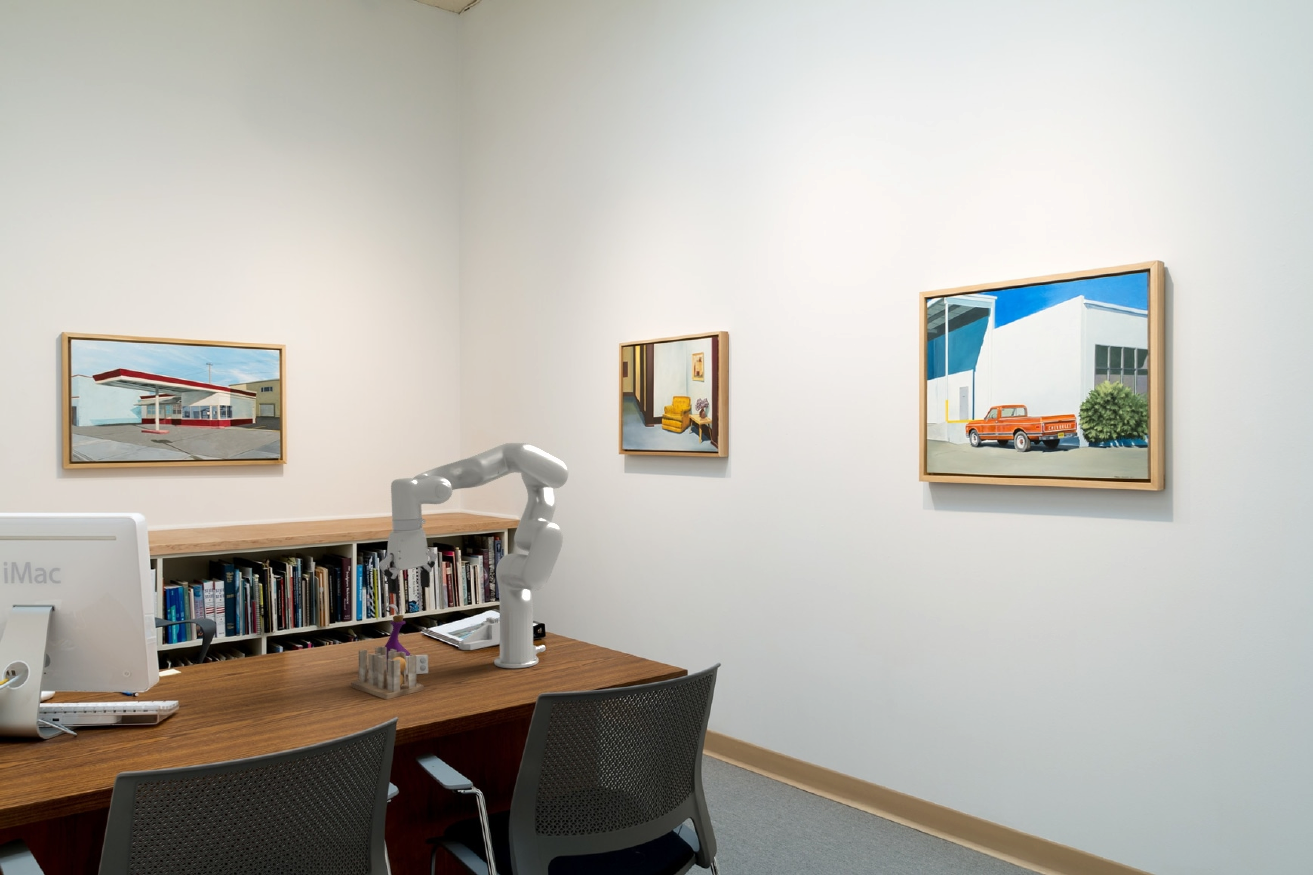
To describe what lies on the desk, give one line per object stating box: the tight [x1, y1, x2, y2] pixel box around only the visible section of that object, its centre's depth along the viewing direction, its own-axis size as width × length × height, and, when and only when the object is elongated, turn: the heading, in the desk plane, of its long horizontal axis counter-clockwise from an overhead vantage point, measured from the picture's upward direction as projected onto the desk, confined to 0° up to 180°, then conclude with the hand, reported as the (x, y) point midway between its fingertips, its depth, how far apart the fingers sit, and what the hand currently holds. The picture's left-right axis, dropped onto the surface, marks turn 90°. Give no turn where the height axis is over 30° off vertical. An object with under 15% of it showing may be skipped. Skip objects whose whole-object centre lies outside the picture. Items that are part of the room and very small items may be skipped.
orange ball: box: [393, 657, 406, 672], centre depth 234 cm, size 4×4×4 cm
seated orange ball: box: [387, 674, 403, 686], centre depth 232 cm, size 4×4×4 cm
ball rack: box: [350, 645, 425, 700], centre depth 236 cm, size 11×17×9 cm, turn 49°
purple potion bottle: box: [384, 603, 411, 671], centre depth 257 cm, size 8×8×18 cm
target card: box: [406, 654, 429, 676], centre depth 250 cm, size 1×8×5 cm, turn 105°
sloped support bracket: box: [458, 616, 500, 651], centre depth 285 cm, size 6×18×8 cm, turn 136°
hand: (409, 590), depth 238 cm, fingers open, 9 cm apart
